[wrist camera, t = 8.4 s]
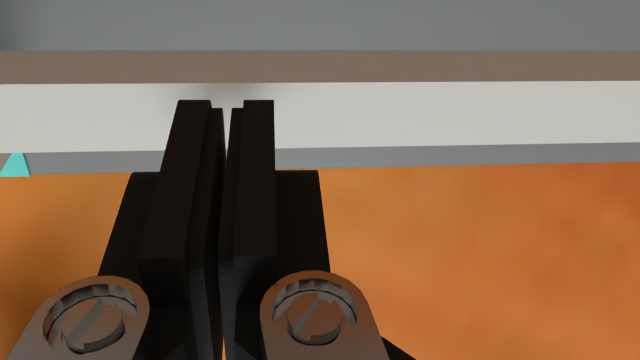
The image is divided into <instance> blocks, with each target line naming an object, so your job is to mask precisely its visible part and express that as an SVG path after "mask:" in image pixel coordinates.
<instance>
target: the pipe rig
mask: <svg viewBox="0 0 640 360" xmlns="http://www.w3.org/2000/svg"><path fill="white" fill-rule="evenodd" d="M178 100H210V101H211V105H212V108H223V115H224V130H225V144H226V159H227V149H228V140H229V130H230V120H231V110H232V108H243V102H244V100H274V126H275V169H312V168H360V167H408V166H456V165H504V164H552V163H600V162H640V0H0V153H12V154H11V156H10V157H9V159H8V160H7V162H6V164H5V165H4V167H3V169H2V170H1V172H0V177H16V176H30V175H31V174H73V173H121V172H160V168H161V164H162V160H163V156H164V152H165V149H166V145H167V141H168V137H169V133H170V129H171V126H172V122H173V118H174V114H175V110H176V106H177V103H178Z"/></svg>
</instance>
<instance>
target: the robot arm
mask: <svg viewBox="0 0 640 360" xmlns="http://www.w3.org/2000/svg"><path fill="white" fill-rule="evenodd" d="M223 338H224V343H225V354H226V360H416V359H414V358H413V357H411V356H410V355H408V354H407V353H405V352H404V351H402V350H401V349H399V348H398V347H396V346H395V345H394V344H392V343H391V342H389V341H388V340H386V339H385V338H383V337H382V336H380V333H379V331H378V328H377V325H376V323H375V320H374V318H373V315H372V312H371V310H370V307H369V304H368V302H367V300H366V299H365V297H364V295H363V294H362V292H361V290H360V289H359V288H357V287H356V286H355V285H354V284H353V283H352V282H350V281H349V280H347V279H345V278H343V277H341V276H339V275H337V274H334V273H331V272H330V264H329V255H328V247H327V239H326V231H325V223H324V215H323V207H322V199H321V191H320V183H319V175H318V171H317V170H275V126H274V100H244V102H243V108H232V110H231V120H230V130H229V140H228V149H227V159H226V144H225V130H224V115H223V108H212V105H211V101H210V100H178V103H177V106H176V110H175V114H174V118H173V122H172V126H171V129H170V133H169V137H168V141H167V145H166V149H165V152H164V156H163V160H162V164H161V168H160V172H134V173H132V174H131V176H130V178H129V181H128V184H127V187H126V190H125V193H124V196H123V199H122V203H121V206H120V209H119V212H118V215H117V218H116V221H115V224H114V227H113V230H112V233H111V236H110V239H109V242H108V245H107V248H106V251H105V254H104V257H103V260H102V263H101V266H100V269H99V273H98V276H93V277H89V278H85V279H81V280H77V281H75V282H73V283H70V284H68V285H66V286H64V287H62V288H60V289H59V290H57V291H56V292H55V293H53V294H52V295H51V296H49V297H48V298H47V299H46V300H45V301H44V302H43V303H42V304H41V306H40V307H39V308H38V309H37V310H36V312H35V313H34V315H33V316H32V318H31V320H30V321H29V323H28V324H27V326H26V328H25V329H24V331H23V333H22V334H21V336H20V337H19V339H18V341H17V342H16V344H15V346H14V347H13V349H12V350H11V352H10V354H9V355H8V357H7V359H6V360H222V351H223Z"/></svg>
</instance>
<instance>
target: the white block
mask: <svg viewBox="0 0 640 360" xmlns="http://www.w3.org/2000/svg"><path fill="white" fill-rule="evenodd" d="M11 154H12V153H0V172H1V170H2V169H3V167H4V165H5V164H6V162H7V160H8V159H9V157H10V156H11Z"/></svg>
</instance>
